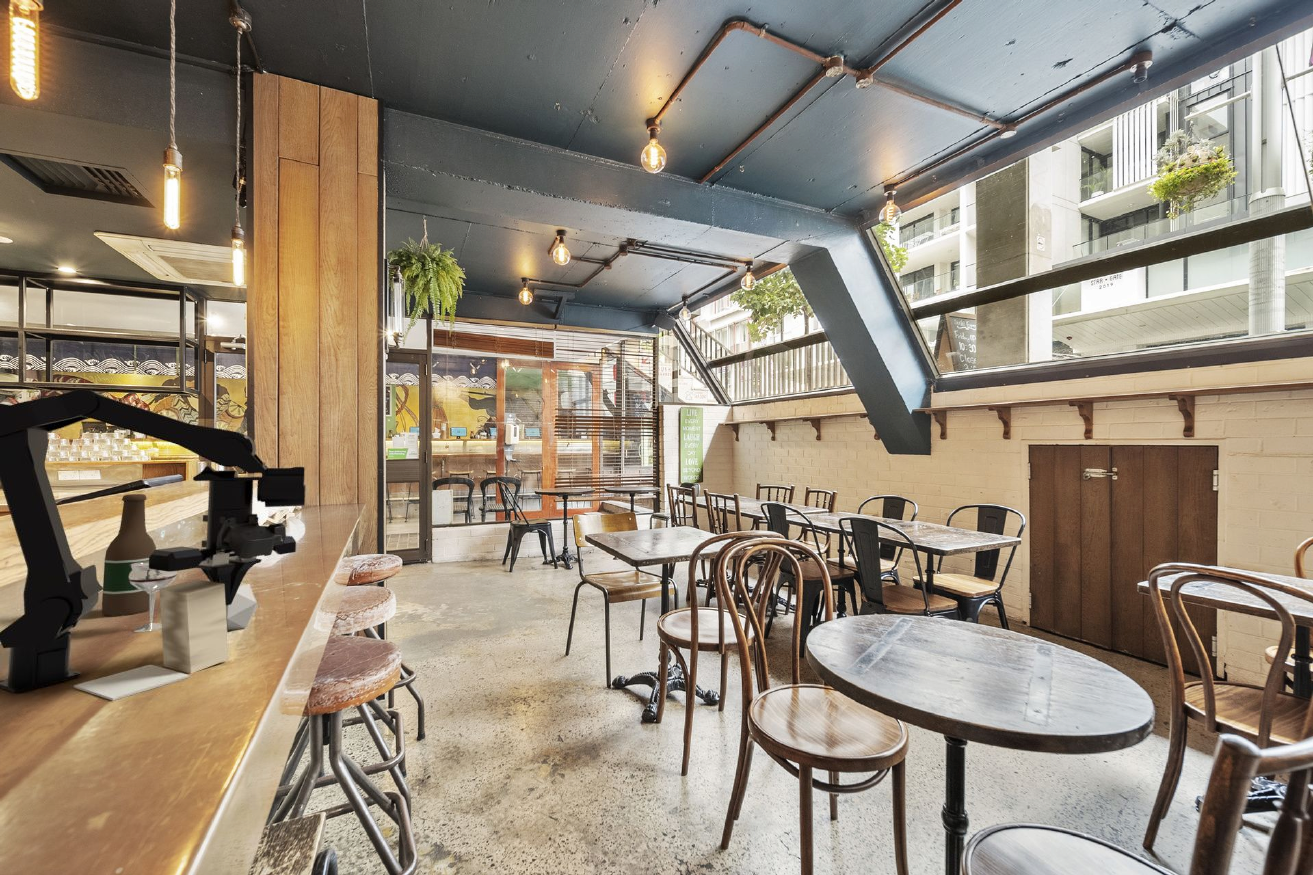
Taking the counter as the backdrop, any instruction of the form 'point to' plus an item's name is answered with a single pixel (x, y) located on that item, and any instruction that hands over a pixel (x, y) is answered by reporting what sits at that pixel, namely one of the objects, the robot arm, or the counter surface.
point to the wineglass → (149, 587)
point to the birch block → (193, 625)
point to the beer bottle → (127, 561)
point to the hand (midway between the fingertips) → (226, 604)
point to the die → (241, 608)
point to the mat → (130, 682)
